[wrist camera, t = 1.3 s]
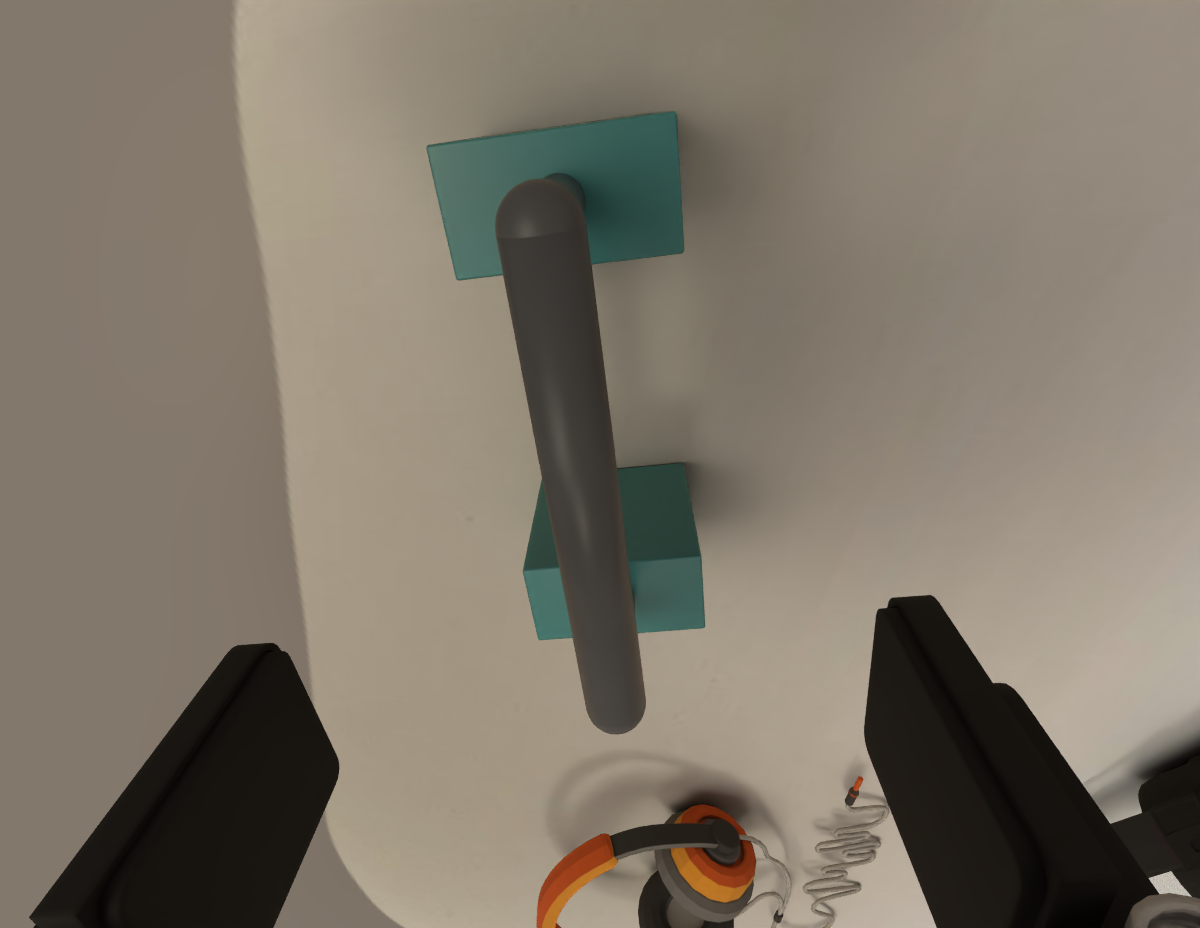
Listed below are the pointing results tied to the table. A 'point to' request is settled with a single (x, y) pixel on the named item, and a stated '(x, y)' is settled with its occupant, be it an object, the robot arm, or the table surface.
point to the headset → (582, 380)
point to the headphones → (697, 869)
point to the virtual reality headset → (1168, 826)
